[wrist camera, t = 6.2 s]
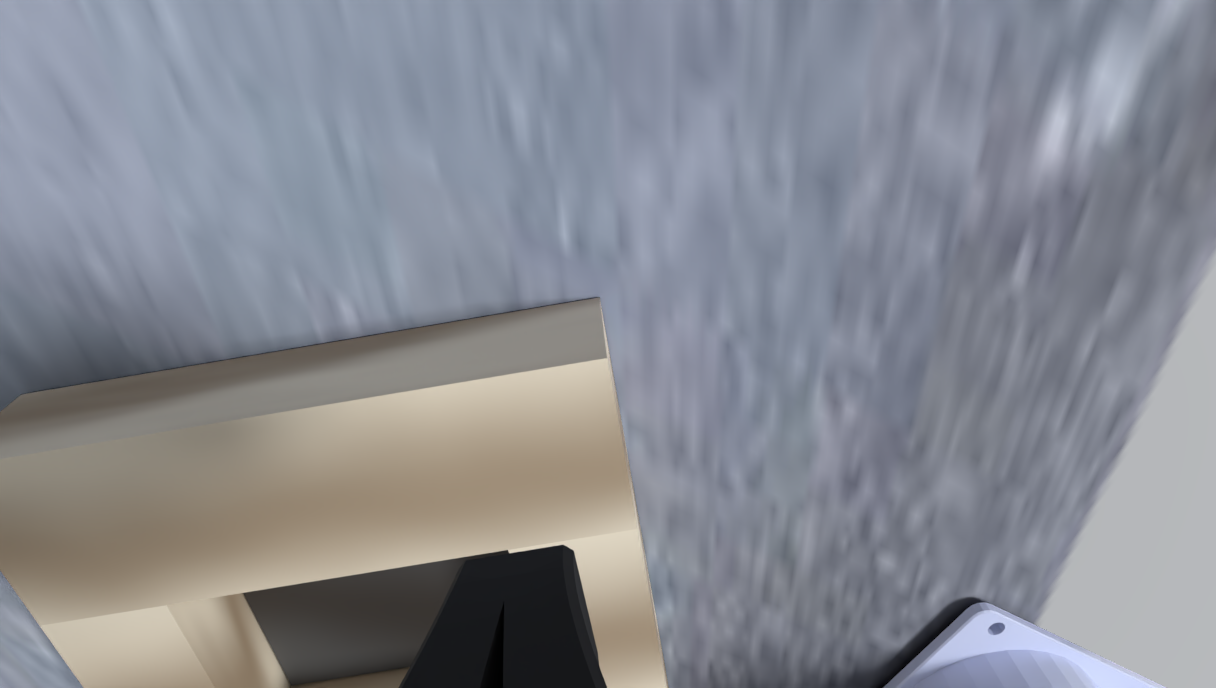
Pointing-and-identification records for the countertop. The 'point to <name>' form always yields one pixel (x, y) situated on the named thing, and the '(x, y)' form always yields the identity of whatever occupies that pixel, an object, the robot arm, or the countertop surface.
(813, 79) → the countertop surface
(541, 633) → the robot arm
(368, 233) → the countertop surface
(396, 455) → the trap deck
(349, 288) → the countertop surface
